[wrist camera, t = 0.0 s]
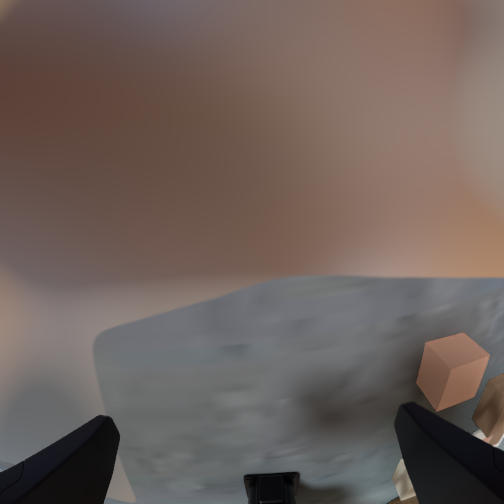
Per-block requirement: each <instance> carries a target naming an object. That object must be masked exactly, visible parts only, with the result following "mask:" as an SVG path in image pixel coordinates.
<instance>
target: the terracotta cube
mask: <svg viewBox="0 0 504 504" xmlns="http://www.w3.org/2000/svg"><path fill="white" fill-rule="evenodd" d="M489 357H490V355H489V354H488V353H487V352H486V351H485V350H484V349H482V348H481V347H480V346H479V345H478V344H477V343H475V342H474V341H473V340H472V339H471V338H469V337H468V336H467V335H466V334H465V333H463V332H462V333H459V334H455V335H452V336H448V337H444V338H440V339H436V340H432V341H428V342H426V343H425V348H424V352H423V357H422V361H421V365H420V369H419V373H418V377H417V381H416V384H417V385H418V386H419V388H420V389H421V391H422V392H423V393H424V395H425V396H426V398H427V399H428V400H429V402H430V403H431V405H432V406H433V408H434V409H435V411H436V412H437V411H440V410H443V409H446V408H448V407H451V406H453V405H456V404H458V403H461V402H463V401H466V400H468V399H471V398H473V397H475V395H476V392H477V390H478V387H479V385H480V382H481V379H482V377H483V374H484V371H485V369H486V366H487V363H488V360H489Z"/></svg>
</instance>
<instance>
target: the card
mask: <svg viewBox="0 0 504 504" xmlns="http://www.w3.org/2000/svg"><path fill="white" fill-rule="evenodd" d="M472 435H474V436H476V437H478V438H479V439H481V440H483V441H485V442H487V443H489V444H491V445H492V446H495V447H497V446H499V444H500V442H501V441H502V439H503V438H504V429H502V430H501V431H499V432H497V433H496V434H494V435H492V436H490V437H489V438H486V436H485V435H484V434H483V432H482V431H481V430H478V431H476V432H474V433H473V434H472Z"/></svg>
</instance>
